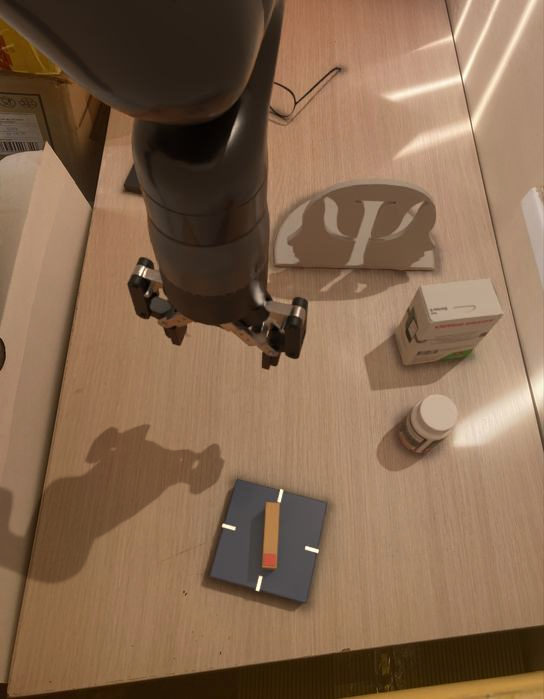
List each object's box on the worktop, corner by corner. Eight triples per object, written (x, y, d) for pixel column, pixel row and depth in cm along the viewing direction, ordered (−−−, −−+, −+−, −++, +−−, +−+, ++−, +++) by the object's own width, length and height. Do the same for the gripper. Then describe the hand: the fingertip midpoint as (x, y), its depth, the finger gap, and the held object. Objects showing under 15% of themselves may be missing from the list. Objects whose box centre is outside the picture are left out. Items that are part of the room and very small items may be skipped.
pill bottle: (438, 417, 64) (462, 393, 57) (437, 456, 62) (462, 436, 55) (398, 411, 65) (417, 387, 57) (396, 450, 63) (416, 429, 55)
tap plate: (210, 578, 56) (207, 577, 53) (236, 482, 60) (235, 477, 58) (304, 604, 55) (307, 605, 53) (325, 506, 60) (328, 501, 57)
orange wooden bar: (265, 507, 56) (265, 501, 53) (278, 508, 56) (280, 502, 53) (261, 569, 54) (261, 567, 50) (275, 570, 54) (276, 568, 50)
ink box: (457, 323, 70) (494, 274, 59) (468, 358, 68) (508, 314, 57) (393, 331, 69) (418, 283, 58) (402, 367, 67) (430, 323, 56)
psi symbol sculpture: (273, 267, 73) (278, 181, 57) (274, 190, 78) (279, 92, 63) (435, 272, 73) (482, 187, 58) (424, 195, 79) (465, 99, 63)
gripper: (330, 225, 36) (307, 333, 51) (131, 176, 37) (165, 295, 52) (303, 320, 33) (287, 405, 48) (86, 263, 34) (136, 364, 49)
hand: (223, 348), depth 50 cm, fingers open, 8 cm apart
